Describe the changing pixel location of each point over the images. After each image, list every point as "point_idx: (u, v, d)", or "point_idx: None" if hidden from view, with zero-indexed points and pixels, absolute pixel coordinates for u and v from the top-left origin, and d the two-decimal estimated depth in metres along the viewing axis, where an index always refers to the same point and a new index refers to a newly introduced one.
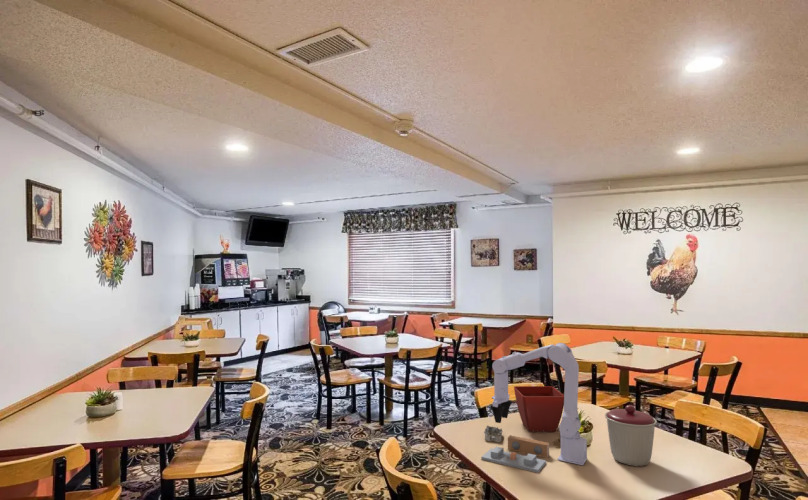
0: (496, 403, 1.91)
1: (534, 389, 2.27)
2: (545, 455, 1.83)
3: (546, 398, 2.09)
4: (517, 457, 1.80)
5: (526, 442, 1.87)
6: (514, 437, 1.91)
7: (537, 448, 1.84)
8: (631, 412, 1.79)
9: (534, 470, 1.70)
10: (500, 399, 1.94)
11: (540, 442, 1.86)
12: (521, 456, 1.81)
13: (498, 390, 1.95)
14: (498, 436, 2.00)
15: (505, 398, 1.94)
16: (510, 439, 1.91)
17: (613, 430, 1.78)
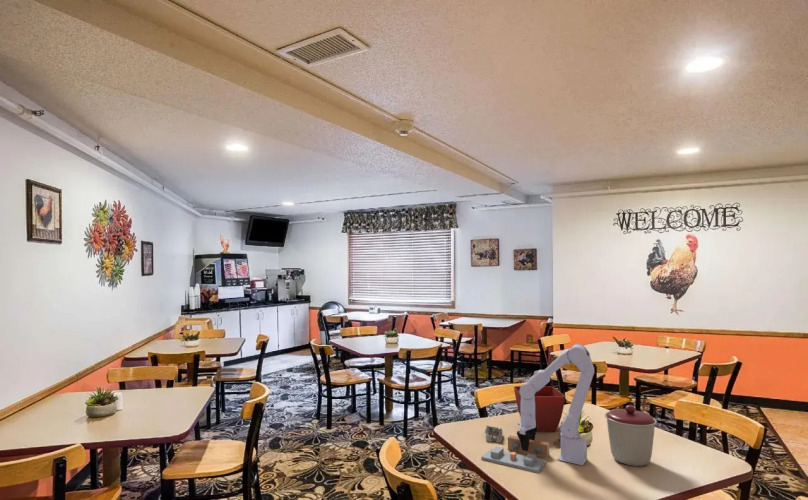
0: (523, 430, 1.82)
1: None
2: (545, 455, 1.83)
3: (546, 398, 2.09)
4: (517, 457, 1.80)
5: None
6: (514, 437, 1.91)
7: (537, 448, 1.85)
8: (631, 412, 1.79)
9: (534, 470, 1.70)
10: (527, 426, 1.86)
11: (540, 442, 1.86)
12: (521, 456, 1.81)
13: (525, 416, 1.86)
14: (499, 436, 2.00)
15: (532, 425, 1.86)
16: (510, 439, 1.91)
17: (613, 430, 1.78)
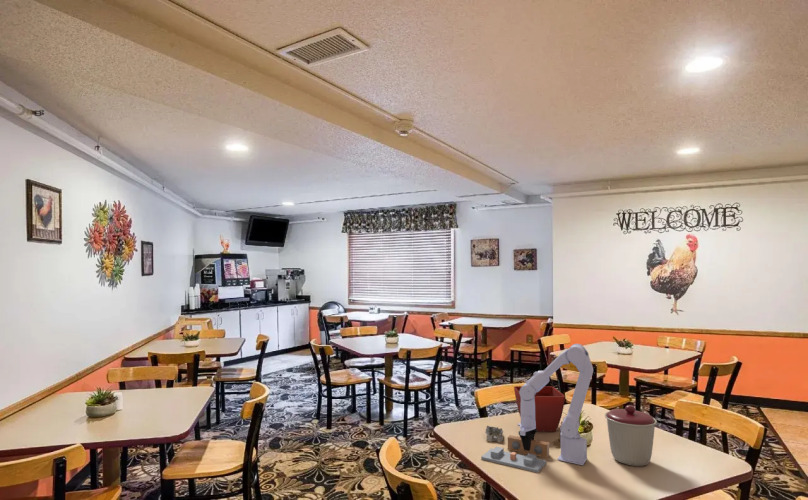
0: (523, 432, 1.82)
1: None
2: (545, 455, 1.83)
3: (546, 398, 2.09)
4: (517, 457, 1.80)
5: None
6: (514, 437, 1.91)
7: (537, 448, 1.84)
8: (631, 412, 1.79)
9: (534, 470, 1.70)
10: (527, 427, 1.86)
11: (540, 442, 1.86)
12: (521, 456, 1.81)
13: (525, 417, 1.86)
14: (500, 436, 2.00)
15: (532, 426, 1.86)
16: (510, 439, 1.91)
17: (613, 430, 1.78)
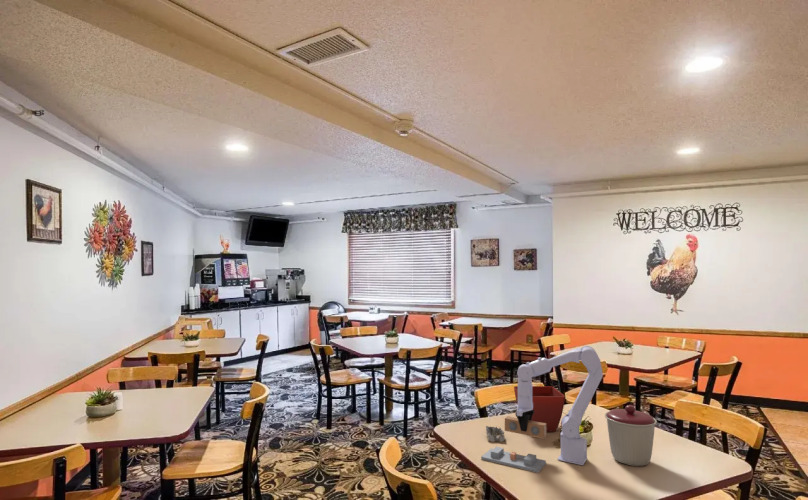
0: (520, 412, 1.81)
1: (534, 389, 2.27)
2: (542, 435, 1.82)
3: (546, 398, 2.09)
4: (517, 457, 1.80)
5: None
6: (511, 418, 1.90)
7: (534, 428, 1.83)
8: (631, 412, 1.79)
9: (534, 470, 1.70)
10: (524, 408, 1.84)
11: (537, 423, 1.84)
12: (521, 456, 1.81)
13: (522, 398, 1.85)
14: (502, 436, 2.00)
15: (529, 407, 1.85)
16: (507, 420, 1.89)
17: (613, 430, 1.78)
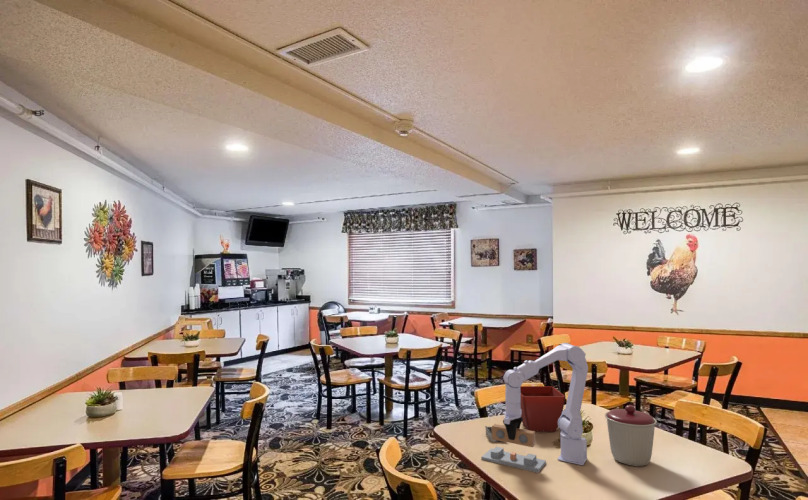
0: (508, 420, 1.73)
1: (534, 389, 2.27)
2: (530, 444, 1.74)
3: (546, 398, 2.09)
4: (517, 457, 1.80)
5: None
6: (499, 426, 1.82)
7: (522, 437, 1.76)
8: (631, 412, 1.79)
9: (534, 470, 1.70)
10: (512, 415, 1.77)
11: (525, 431, 1.77)
12: (521, 456, 1.81)
13: (510, 405, 1.78)
14: None
15: (517, 414, 1.77)
16: (494, 428, 1.82)
17: (613, 430, 1.78)
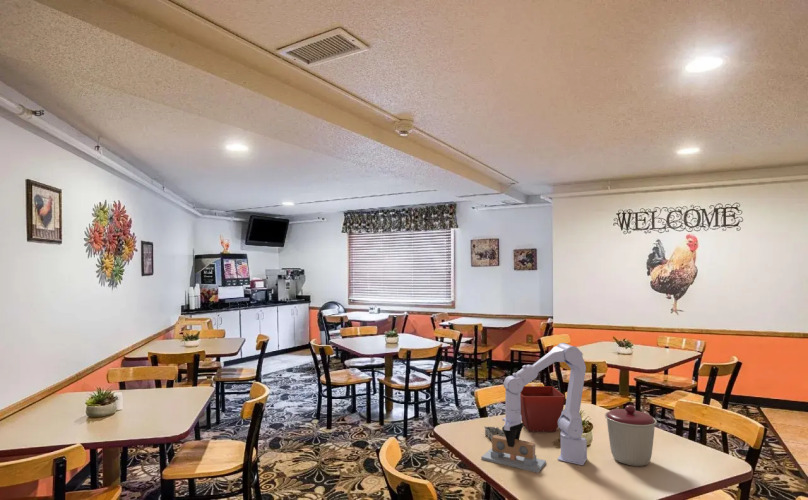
0: (508, 426, 1.73)
1: (534, 389, 2.27)
2: (531, 456, 1.74)
3: (546, 398, 2.09)
4: (517, 457, 1.80)
5: None
6: (499, 437, 1.82)
7: (522, 448, 1.76)
8: (631, 412, 1.79)
9: (534, 470, 1.70)
10: (512, 421, 1.77)
11: (526, 442, 1.77)
12: None
13: (510, 412, 1.78)
14: (504, 435, 2.01)
15: (517, 420, 1.77)
16: (494, 439, 1.82)
17: (613, 430, 1.78)
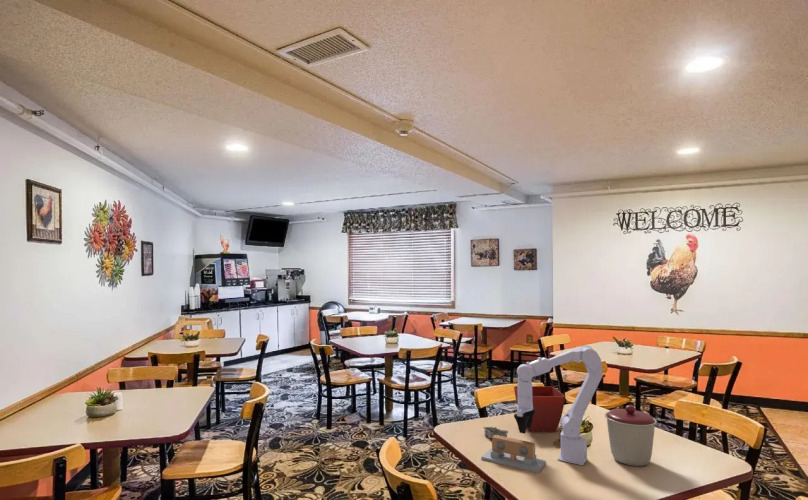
0: (521, 412, 1.79)
1: (534, 389, 2.27)
2: (531, 456, 1.74)
3: (546, 398, 2.09)
4: (517, 457, 1.80)
5: (511, 442, 1.78)
6: (499, 437, 1.82)
7: (522, 448, 1.76)
8: (631, 412, 1.79)
9: (534, 470, 1.70)
10: (524, 408, 1.83)
11: (526, 442, 1.77)
12: None
13: (522, 398, 1.83)
14: (506, 434, 2.02)
15: (529, 407, 1.83)
16: (494, 439, 1.82)
17: (613, 430, 1.78)
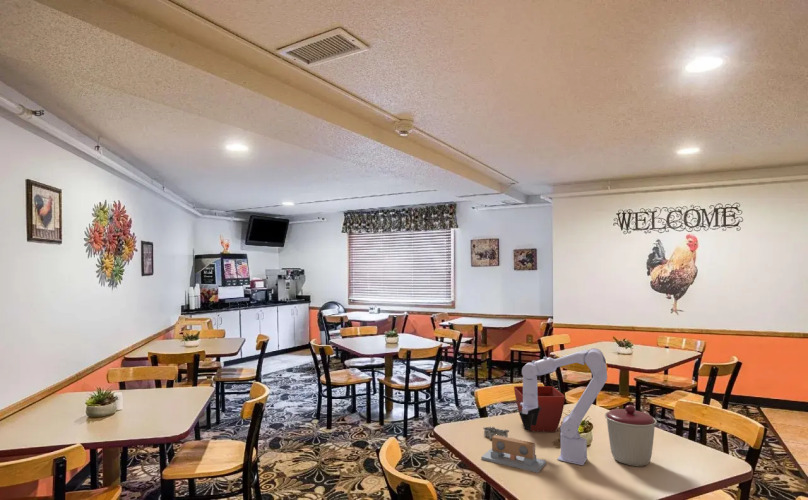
0: (526, 410, 1.82)
1: None
2: (531, 456, 1.74)
3: (546, 398, 2.09)
4: (517, 457, 1.80)
5: (511, 442, 1.78)
6: (499, 437, 1.82)
7: (522, 448, 1.76)
8: (631, 412, 1.79)
9: (534, 470, 1.70)
10: (529, 406, 1.86)
11: (526, 442, 1.77)
12: None
13: (527, 396, 1.86)
14: (506, 434, 2.03)
15: (535, 405, 1.86)
16: (494, 439, 1.82)
17: (613, 430, 1.78)
